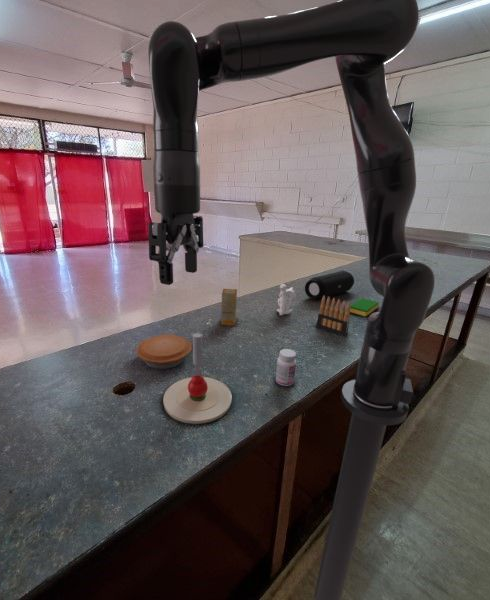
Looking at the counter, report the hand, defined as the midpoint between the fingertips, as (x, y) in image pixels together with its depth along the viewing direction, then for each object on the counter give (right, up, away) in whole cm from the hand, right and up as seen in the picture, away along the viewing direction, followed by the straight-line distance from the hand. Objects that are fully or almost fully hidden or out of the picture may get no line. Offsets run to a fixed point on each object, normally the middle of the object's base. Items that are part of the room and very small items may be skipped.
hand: (179, 277), depth 57 cm
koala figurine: (+32, -9, +67) cm, 75 cm away
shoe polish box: (+10, -12, +58) cm, 60 cm away
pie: (-9, -21, +34) cm, 41 cm away
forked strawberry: (+2, -27, +17) cm, 31 cm away
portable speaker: (+56, -2, +88) cm, 105 cm away
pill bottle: (+24, -25, +25) cm, 43 cm away
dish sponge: (+65, -8, +72) cm, 98 cm away
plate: (+2, -28, +17) cm, 32 cm away
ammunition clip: (+46, -15, +54) cm, 72 cm away
